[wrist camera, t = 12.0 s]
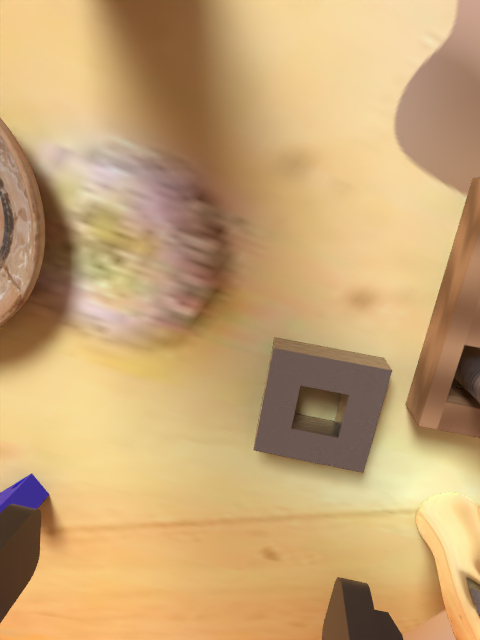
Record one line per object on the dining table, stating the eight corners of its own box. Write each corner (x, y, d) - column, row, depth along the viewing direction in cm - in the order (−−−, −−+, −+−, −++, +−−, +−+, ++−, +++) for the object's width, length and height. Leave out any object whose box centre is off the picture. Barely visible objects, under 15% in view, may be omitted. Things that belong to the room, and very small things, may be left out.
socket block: (274, 337, 38) (273, 347, 36) (384, 357, 38) (391, 370, 35) (256, 433, 41) (253, 450, 38) (357, 453, 41) (363, 472, 38)
